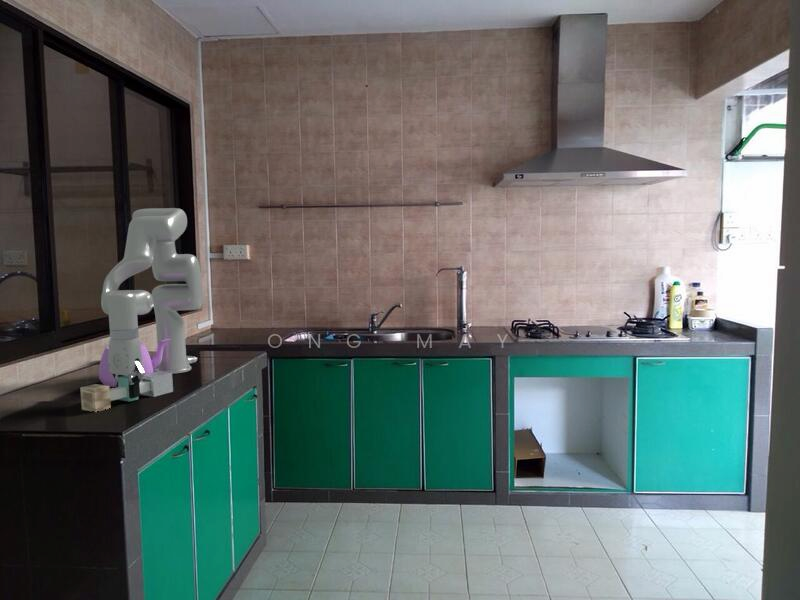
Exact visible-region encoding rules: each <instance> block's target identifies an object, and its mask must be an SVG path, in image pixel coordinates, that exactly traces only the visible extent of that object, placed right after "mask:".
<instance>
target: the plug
mask: <svg viewBox="0 0 800 600" xmlns="http://www.w3.org/2000/svg"><path fill="white" fill-rule="evenodd" d="M132 377H133V378H134V377H135V376H132ZM129 385H130V382H129V378H128V375H125V376H120V377H118V387H116V388H111V387H110V402H113V401H116V400H118V401H122V402H123V401H124V402H134V401H136V400H139V397H136V398H132V399H131V398H129ZM139 386H140V394H141V393H144V392H148V391H151V380H146V381H141V382H140V383H139Z"/></svg>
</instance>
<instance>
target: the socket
mask: <svg viewBox="0 0 800 600" xmlns="http://www.w3.org/2000/svg"><path fill="white" fill-rule="evenodd" d="M79 389H80V401H81V402H80V403H81V404H80V405H81V410H82V411H88V412H92V411H94V412H93V413H98V412H97V411H99V412H103V411H106V410H110V409H112V408H111V407H112V405H111V403H112V401H110V389H111V387H109V386H105V385H104V384H96V383H95V384H94V383H93V384H90V385H86V386H81V387H80V388H79ZM109 408H110V409H109ZM105 409H106V410H105Z"/></svg>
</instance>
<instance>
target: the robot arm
mask: <svg viewBox="0 0 800 600" xmlns="http://www.w3.org/2000/svg"><path fill="white" fill-rule="evenodd" d="M131 217H132V219H131V221H130V222H129V224H128V229H127V235H126V242H125V248H124V249H125V250H124V256H123V258H122V260H120V261H119V262H118V263H116V265H114V267H113V268H112V269H111V270H110V272H108V274H107V275H106V276H105V279H104V281H103V286H102V292H101V297H100V300H101V301H100V304H101V309H102V312H104V314H106V315H108V322H109V324H108V325H109V341H108V346H109V350H108V365H109V372H110V373H112V374H113V377H114V378H115V383H116V387H118V377H120V376H125V375H128V378H129V382H130V385H129V398H131V399H132V398H136V397H138V398H139V397H141V393H140V386H139V383H140V382H141V381H140V380H141V379H142V377H143V376H144V375H145V372H144V370H143V361H142V352H141V347H140V343H141V342H140V339H139V338H140V337H139V325H138V324H139V321H138V316H142V315H146V314H149V313H150V312H151V311H152V309H154V315H155V317H154V318H155V325H156V326H155V329H156V343H157V347H158V344H159V342H160V341H162V340H166V339H170V340H169V341H168V342H167V343H166V344H165V346H164V348H163V355H162V360H161V363H160V365H159V366H158V367H157V368H155V369H154V372H157V371H163V372H172V375H175V374H181V373H187V372H189V371H191V370H192V366H191V365H190V364H191V363H196V362H197V361H198V357H196V356H192V357H189V356H187V348H186V333H185V332H186V329H185V322H184V319H183V317H181V315H180V314H179V313H178V312H179V311H196V310H199V309H201V308H202V306H203V303H204V292H203V280H202V274H201V267H200V262H199V260H198V258H197V256H195V255H194V254H191V253H184V254H183V253H181V254H180V253H177V250H176V244H175V243H176V240H178V239H179V238H180V237H181V235H183V234H184V232H185V231H186V229H187V227H188V217H187V214H186V212H185V211H184V210H183V209H181V208H176V207H169V208H168V207H167V208H165V207H164V208H160V207H159V208H157V207H155V208H154V207H153V208H141V209H137V210H134V211H133V213H132V216H131ZM150 268H152V269H151V270H152V274H153V278H154V279H155V280H156V281H160V282H184V283H165V284H159V285H157V286H155V287H154V288H153V289H152V290H151V293H150V292H149V291H148V290H144V289H134V290H133V289H131V290H130V289H126V290H125V289H124V290H122V289H121V290H118V289H119V287H120V286H121V284H122V283H123V282H124V281H126V280H127V279H128V278H131V277H132V276H134V275H137V274H139V273H142V272H144V271H146V270H148V269H150ZM133 372H135V373H133ZM131 373H132V374H131ZM134 375H135V377H134V378H133V377H132V376H134Z"/></svg>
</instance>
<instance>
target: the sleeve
mask: <svg viewBox="0 0 800 600" xmlns="http://www.w3.org/2000/svg"><path fill="white" fill-rule="evenodd" d="M146 380H151V391H148V392H144V393H140V396H146V397H147V396H148V397H154V398H155V397H158V396H162V395H165V394H169V393H173V392H174V386H173V385H174V384H173V383H174V382H173V380H174V379H173V374H172V372H163V371H157V372H152V373H148V374H145V375H144V376H143V377H142V379H141V380H140V381H146Z"/></svg>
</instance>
